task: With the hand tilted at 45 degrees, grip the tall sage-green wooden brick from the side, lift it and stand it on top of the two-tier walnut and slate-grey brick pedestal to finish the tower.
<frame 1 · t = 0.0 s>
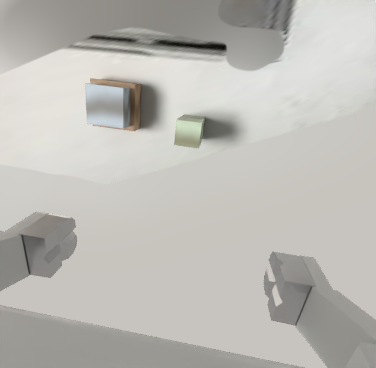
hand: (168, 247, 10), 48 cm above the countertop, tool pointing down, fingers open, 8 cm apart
pedestal: (120, 104, 55), on the countertop
green brick: (193, 127, 55), on the countertop
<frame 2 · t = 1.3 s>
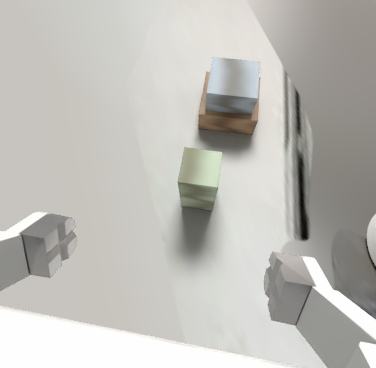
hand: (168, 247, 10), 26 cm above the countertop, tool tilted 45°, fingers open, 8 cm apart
pedestal: (227, 110, 45), on the countertop
green brick: (199, 194, 38), on the countertop
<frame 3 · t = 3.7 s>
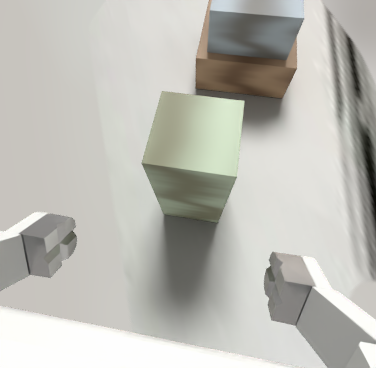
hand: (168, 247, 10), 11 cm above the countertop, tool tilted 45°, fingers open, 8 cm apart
pedestal: (241, 62, 29), on the countertop
green brick: (194, 193, 22), on the countertop
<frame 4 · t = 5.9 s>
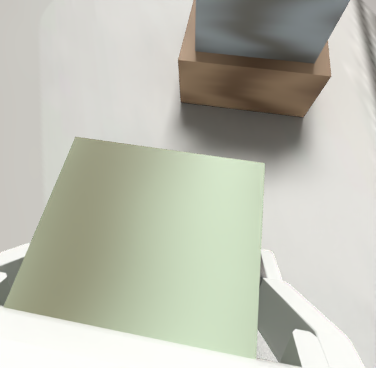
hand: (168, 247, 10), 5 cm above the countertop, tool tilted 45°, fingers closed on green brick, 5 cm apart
pedestal: (245, 65, 21), on the countertop
green brick: (174, 270, 14), on the countertop, touching gripper
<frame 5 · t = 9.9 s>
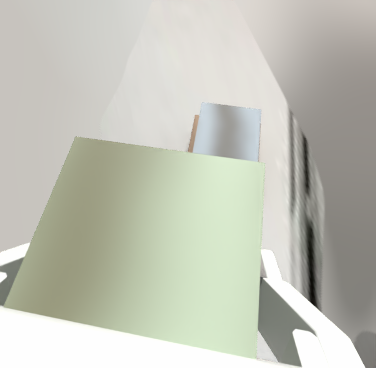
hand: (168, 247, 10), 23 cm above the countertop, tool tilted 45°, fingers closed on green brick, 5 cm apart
pedestal: (220, 160, 37), on the countertop
green brick: (174, 269, 14), point 18 cm above the countertop, touching gripper
when the fingers open (15 cm above the countertop, at t = 14.0 s): green brick drops 1 cm, resting on pedestal.
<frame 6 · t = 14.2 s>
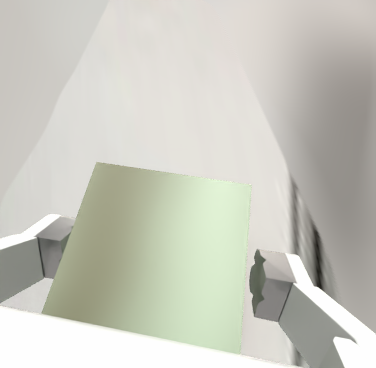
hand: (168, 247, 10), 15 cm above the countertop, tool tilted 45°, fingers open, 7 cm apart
green brick: (176, 270, 16), point 8 cm above the countertop, touching pedestal
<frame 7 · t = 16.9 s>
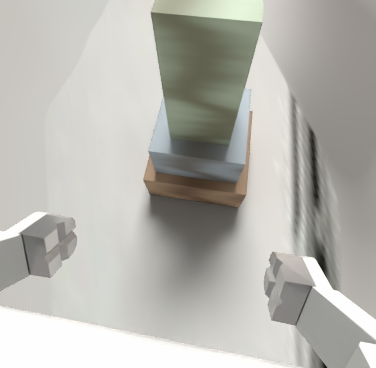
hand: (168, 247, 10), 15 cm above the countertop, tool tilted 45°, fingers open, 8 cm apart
pedestal: (200, 161, 28), on the countertop
green brick: (203, 118, 20), point 8 cm above the countertop, touching pedestal
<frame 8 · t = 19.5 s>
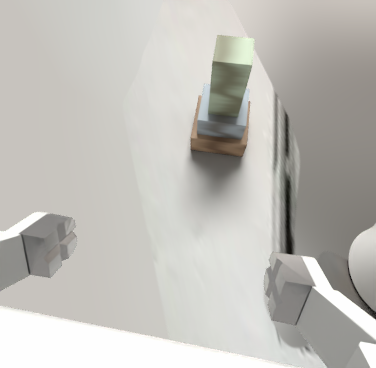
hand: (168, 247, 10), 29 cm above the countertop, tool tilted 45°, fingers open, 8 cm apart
pedestal: (219, 131, 47), on the countertop
green brick: (224, 103, 39), point 8 cm above the countertop, touching pedestal
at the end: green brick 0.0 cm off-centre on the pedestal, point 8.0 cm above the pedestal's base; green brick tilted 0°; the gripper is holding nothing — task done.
